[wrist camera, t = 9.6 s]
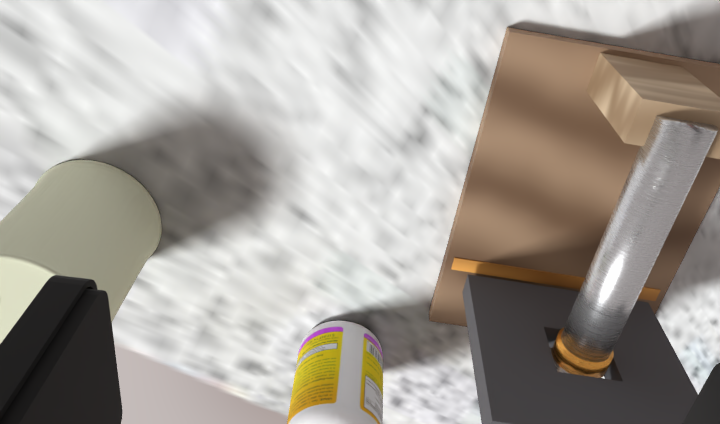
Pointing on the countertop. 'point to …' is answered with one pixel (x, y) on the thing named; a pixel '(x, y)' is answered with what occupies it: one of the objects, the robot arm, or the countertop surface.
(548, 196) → the stand
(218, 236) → the countertop surface
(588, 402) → the dark grey flat plate
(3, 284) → the can
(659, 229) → the pipe
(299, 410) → the supplement bottle
